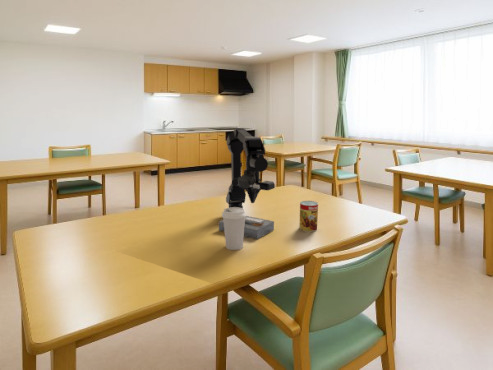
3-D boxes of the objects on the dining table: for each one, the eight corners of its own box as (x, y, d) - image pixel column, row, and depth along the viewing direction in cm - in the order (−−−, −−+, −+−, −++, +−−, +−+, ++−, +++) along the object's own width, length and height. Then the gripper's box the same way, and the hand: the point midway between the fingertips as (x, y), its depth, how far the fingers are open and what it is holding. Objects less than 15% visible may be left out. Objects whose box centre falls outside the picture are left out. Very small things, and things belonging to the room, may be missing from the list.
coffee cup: (221, 242, 148) (221, 206, 145) (245, 242, 149) (245, 206, 146) (222, 252, 139) (221, 213, 135) (247, 251, 139) (247, 213, 136)
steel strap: (229, 218, 165) (229, 216, 165) (233, 216, 168) (233, 214, 167) (260, 223, 156) (260, 222, 156) (263, 222, 159) (263, 220, 159)
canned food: (313, 232, 160) (314, 206, 157) (296, 229, 164) (297, 203, 161) (319, 227, 166) (320, 202, 164) (303, 224, 170) (304, 199, 168)
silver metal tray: (218, 230, 163) (218, 217, 161) (237, 222, 174) (237, 210, 173) (257, 239, 152) (257, 225, 151) (273, 229, 163) (274, 217, 162)
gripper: (223, 168, 154) (224, 203, 158) (261, 172, 144) (261, 210, 148) (238, 164, 163) (239, 198, 167) (275, 168, 153) (274, 204, 157)
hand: (252, 202), depth 159 cm, fingers closed
